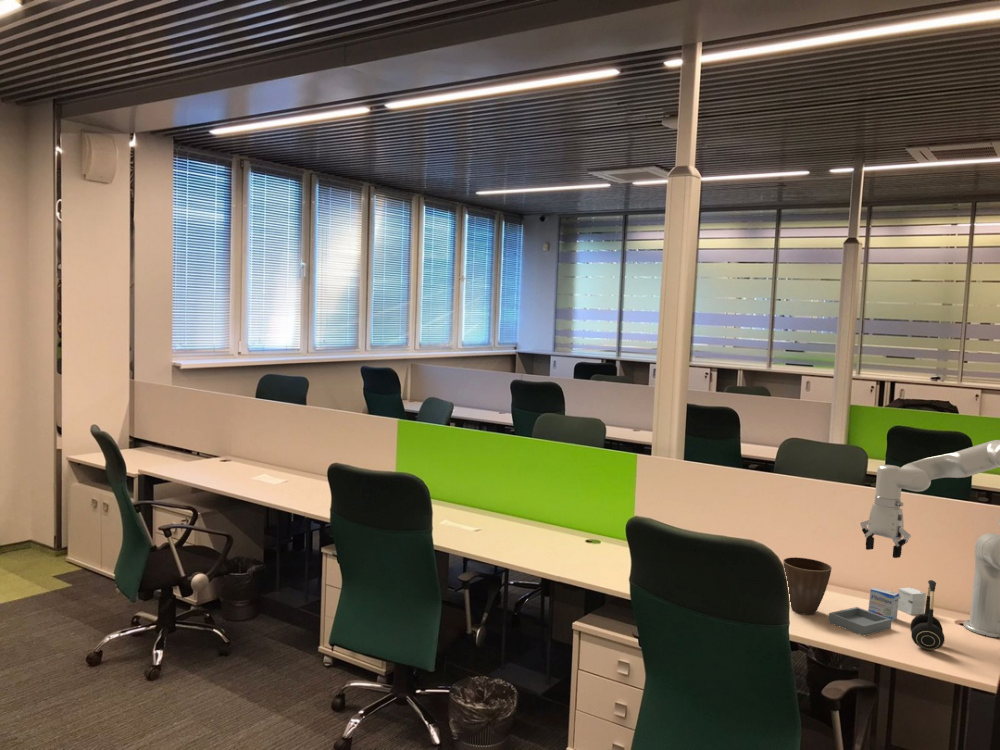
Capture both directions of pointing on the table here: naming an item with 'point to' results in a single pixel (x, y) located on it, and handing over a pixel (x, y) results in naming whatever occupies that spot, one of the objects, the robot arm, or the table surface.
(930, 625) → the headphones
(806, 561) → the plant pot
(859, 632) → the desk tray
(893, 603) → the medicine box
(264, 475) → the table surface
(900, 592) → the skincare box
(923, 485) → the robot arm
